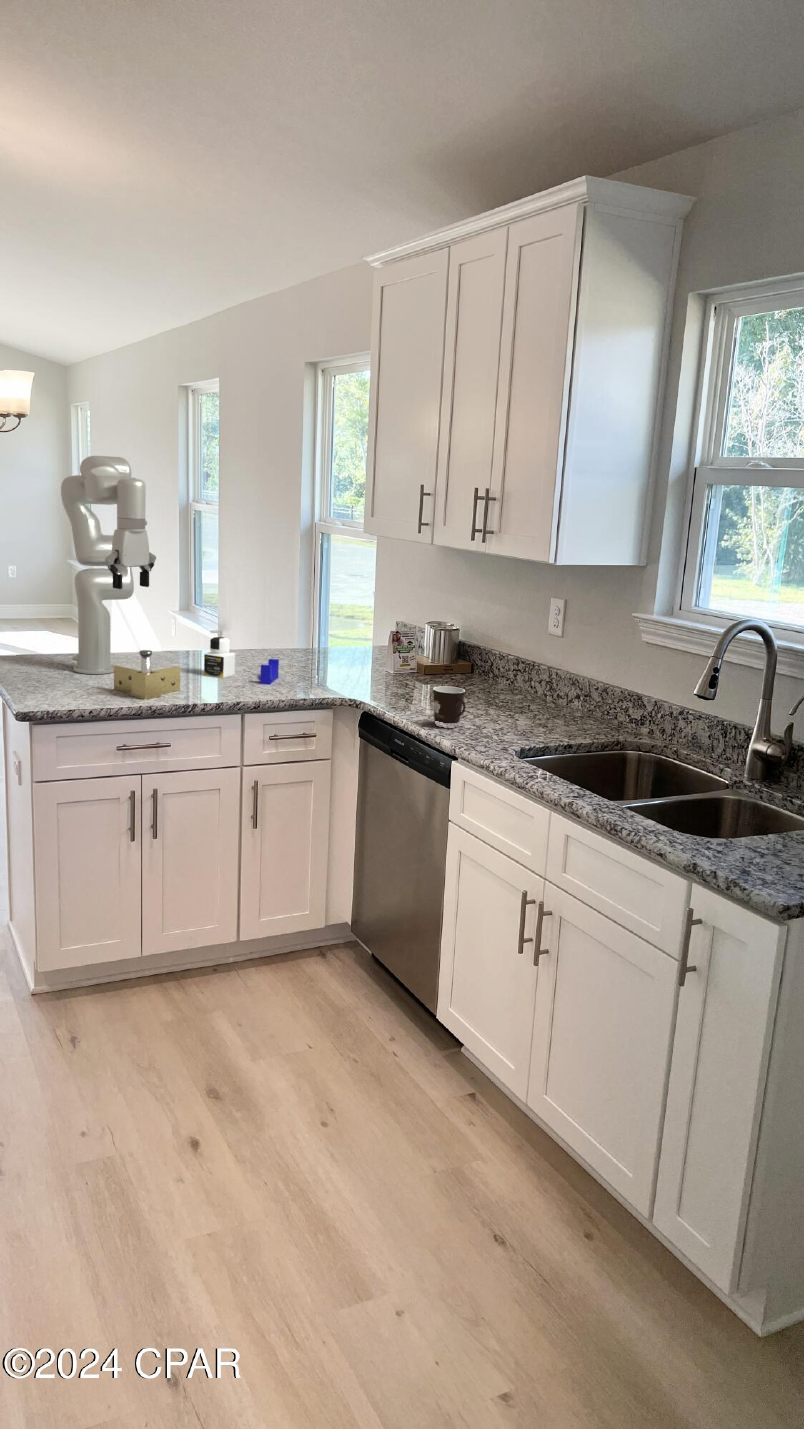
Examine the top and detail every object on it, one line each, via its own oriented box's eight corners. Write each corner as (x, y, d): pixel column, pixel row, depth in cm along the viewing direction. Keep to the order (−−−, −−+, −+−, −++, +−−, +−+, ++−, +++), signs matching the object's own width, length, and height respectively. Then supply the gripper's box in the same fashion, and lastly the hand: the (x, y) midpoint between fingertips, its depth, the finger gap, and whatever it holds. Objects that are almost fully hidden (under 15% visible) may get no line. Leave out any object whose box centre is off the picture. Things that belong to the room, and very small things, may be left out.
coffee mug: (428, 721, 284) (431, 685, 282) (460, 722, 285) (462, 687, 283) (433, 731, 273) (436, 694, 271) (466, 733, 274) (468, 696, 272)
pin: (137, 696, 292) (136, 651, 289) (146, 694, 294) (146, 649, 291) (145, 698, 290) (145, 652, 287) (154, 696, 293) (154, 651, 290)
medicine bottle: (203, 675, 325) (204, 637, 323) (215, 672, 332) (216, 635, 329) (223, 678, 323) (223, 640, 320) (235, 675, 329) (236, 637, 327)
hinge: (107, 690, 297) (107, 666, 295) (148, 683, 309) (148, 660, 308) (145, 699, 288) (145, 675, 287) (186, 692, 301) (186, 668, 299)
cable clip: (264, 676, 330) (264, 658, 329) (278, 678, 330) (278, 659, 329) (255, 684, 319) (256, 664, 317) (269, 685, 318) (270, 666, 317)
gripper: (145, 523, 292) (145, 584, 296) (96, 524, 278) (97, 587, 282) (164, 525, 288) (163, 587, 292) (115, 526, 274) (116, 590, 278)
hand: (131, 587), depth 287 cm, fingers open, 9 cm apart
